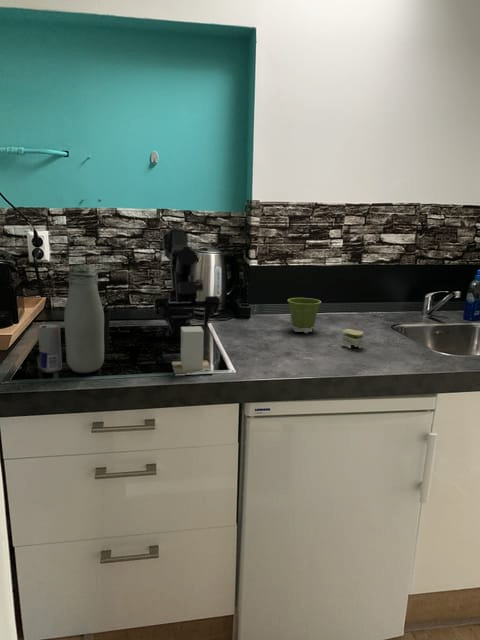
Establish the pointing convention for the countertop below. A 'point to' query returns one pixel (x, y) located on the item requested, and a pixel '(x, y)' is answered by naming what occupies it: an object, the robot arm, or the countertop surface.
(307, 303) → the plant pot
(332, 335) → the countertop surface
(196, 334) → the tall pale rectangular prism
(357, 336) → the stacked layers on plate
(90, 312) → the glass bottle
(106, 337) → the cup
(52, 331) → the energy drink
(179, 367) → the beige board with block
